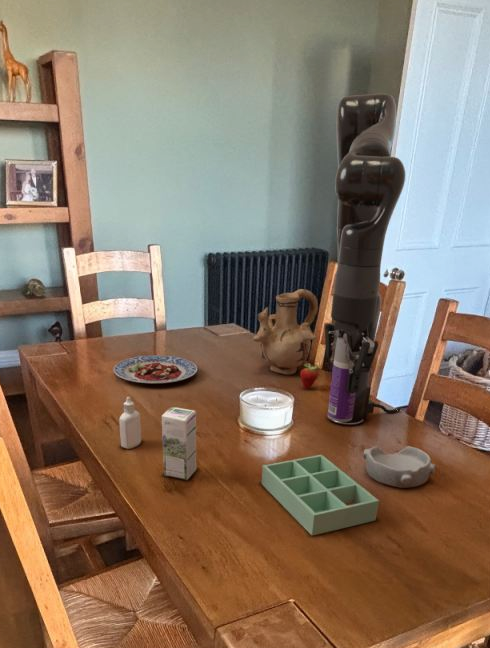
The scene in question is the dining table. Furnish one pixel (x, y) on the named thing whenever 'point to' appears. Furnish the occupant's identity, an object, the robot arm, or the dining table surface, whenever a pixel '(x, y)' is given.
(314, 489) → the rack
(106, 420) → the dining table surface
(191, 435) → the syrup box
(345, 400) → the container
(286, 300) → the ceramic vessel
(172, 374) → the ceramic plate
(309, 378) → the fruit
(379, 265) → the robot arm
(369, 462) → the dish
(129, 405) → the eye dropper bottle
